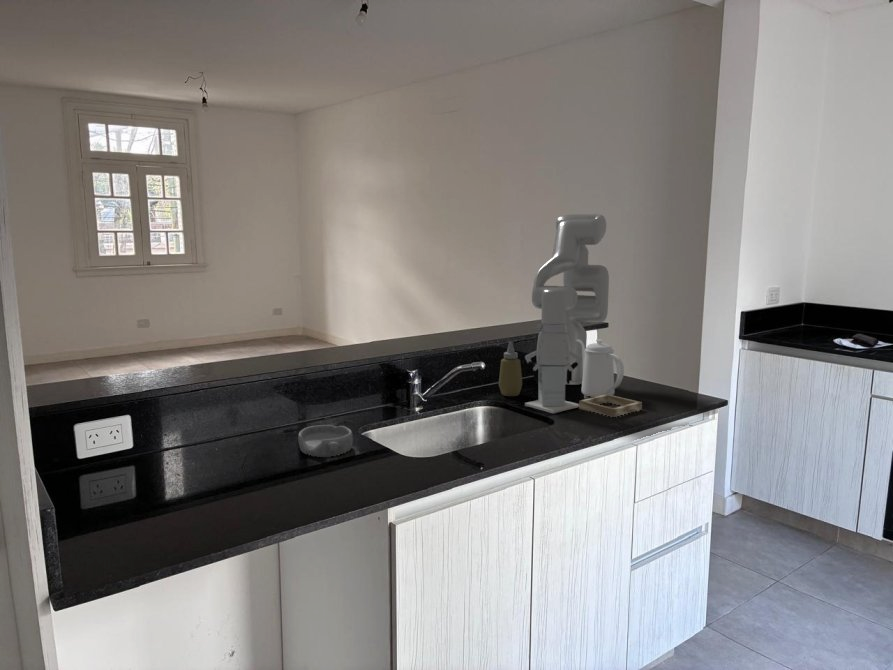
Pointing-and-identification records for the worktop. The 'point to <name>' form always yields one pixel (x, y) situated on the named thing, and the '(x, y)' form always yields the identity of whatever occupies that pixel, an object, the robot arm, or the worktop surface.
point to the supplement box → (551, 385)
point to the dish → (325, 440)
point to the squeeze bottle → (510, 373)
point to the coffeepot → (600, 369)
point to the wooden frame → (624, 408)
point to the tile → (552, 409)
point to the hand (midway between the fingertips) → (552, 382)
